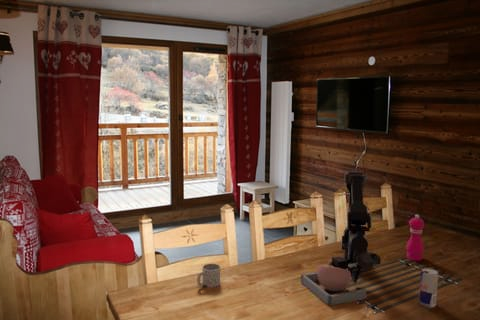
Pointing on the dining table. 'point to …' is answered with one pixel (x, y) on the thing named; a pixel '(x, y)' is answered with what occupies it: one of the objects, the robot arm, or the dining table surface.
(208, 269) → the mug
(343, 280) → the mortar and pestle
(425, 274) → the energy drink
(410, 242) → the pepper mill
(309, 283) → the grey frame
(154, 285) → the dining table surface
